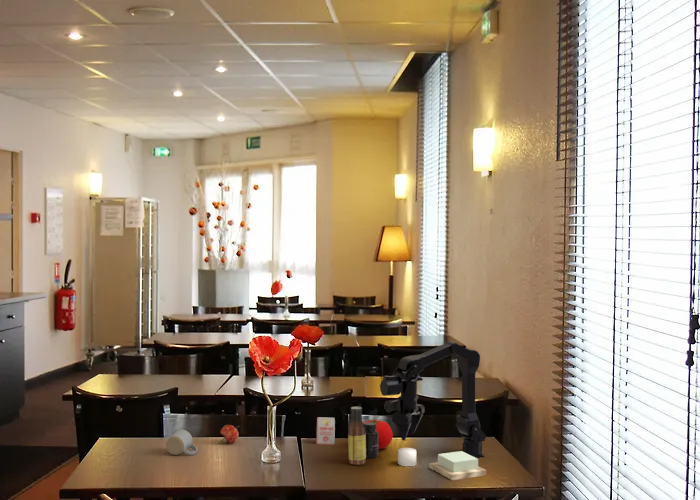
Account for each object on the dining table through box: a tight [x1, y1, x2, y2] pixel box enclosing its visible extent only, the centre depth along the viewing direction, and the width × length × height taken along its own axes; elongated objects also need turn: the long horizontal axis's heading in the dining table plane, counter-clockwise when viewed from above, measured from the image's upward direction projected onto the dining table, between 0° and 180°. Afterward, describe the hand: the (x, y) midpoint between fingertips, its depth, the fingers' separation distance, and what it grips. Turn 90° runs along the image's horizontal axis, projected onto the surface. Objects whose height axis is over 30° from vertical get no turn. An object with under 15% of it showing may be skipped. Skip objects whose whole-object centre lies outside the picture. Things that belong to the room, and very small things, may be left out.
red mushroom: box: [217, 424, 240, 445], centre depth 304 cm, size 7×7×10 cm
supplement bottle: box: [363, 422, 379, 459], centre depth 290 cm, size 7×7×12 cm
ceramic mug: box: [165, 429, 198, 456], centre depth 290 cm, size 11×8×8 cm
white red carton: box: [315, 416, 336, 446], centre depth 306 cm, size 4×7×10 cm, turn 88°
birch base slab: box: [429, 461, 487, 481], centre depth 274 cm, size 14×14×2 cm
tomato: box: [362, 419, 394, 450], centre depth 302 cm, size 14×13×10 cm
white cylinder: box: [397, 447, 417, 467], centre depth 281 cm, size 6×6×5 cm
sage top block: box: [437, 450, 479, 473], centre depth 274 cm, size 10×10×4 cm
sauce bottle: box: [347, 406, 367, 466], centre depth 281 cm, size 6×6×20 cm
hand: (407, 437), depth 281 cm, fingers open, 9 cm apart
